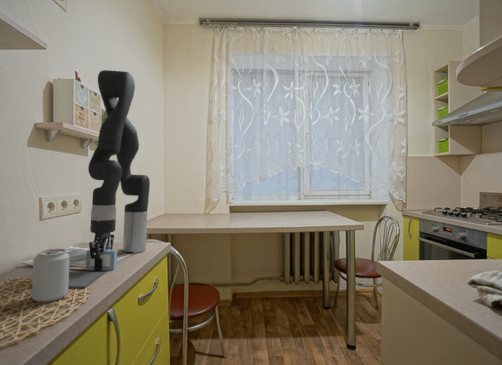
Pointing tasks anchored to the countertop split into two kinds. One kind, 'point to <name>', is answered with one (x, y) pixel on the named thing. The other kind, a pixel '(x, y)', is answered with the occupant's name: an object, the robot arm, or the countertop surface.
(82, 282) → the mat
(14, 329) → the countertop surface
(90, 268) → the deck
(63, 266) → the can
